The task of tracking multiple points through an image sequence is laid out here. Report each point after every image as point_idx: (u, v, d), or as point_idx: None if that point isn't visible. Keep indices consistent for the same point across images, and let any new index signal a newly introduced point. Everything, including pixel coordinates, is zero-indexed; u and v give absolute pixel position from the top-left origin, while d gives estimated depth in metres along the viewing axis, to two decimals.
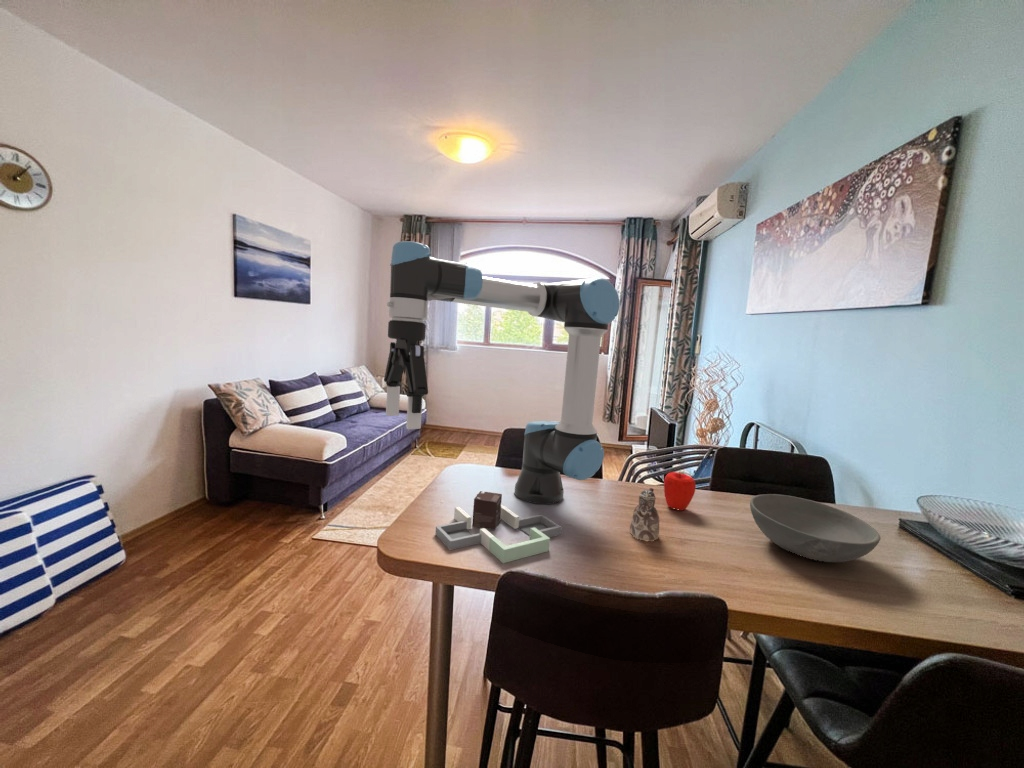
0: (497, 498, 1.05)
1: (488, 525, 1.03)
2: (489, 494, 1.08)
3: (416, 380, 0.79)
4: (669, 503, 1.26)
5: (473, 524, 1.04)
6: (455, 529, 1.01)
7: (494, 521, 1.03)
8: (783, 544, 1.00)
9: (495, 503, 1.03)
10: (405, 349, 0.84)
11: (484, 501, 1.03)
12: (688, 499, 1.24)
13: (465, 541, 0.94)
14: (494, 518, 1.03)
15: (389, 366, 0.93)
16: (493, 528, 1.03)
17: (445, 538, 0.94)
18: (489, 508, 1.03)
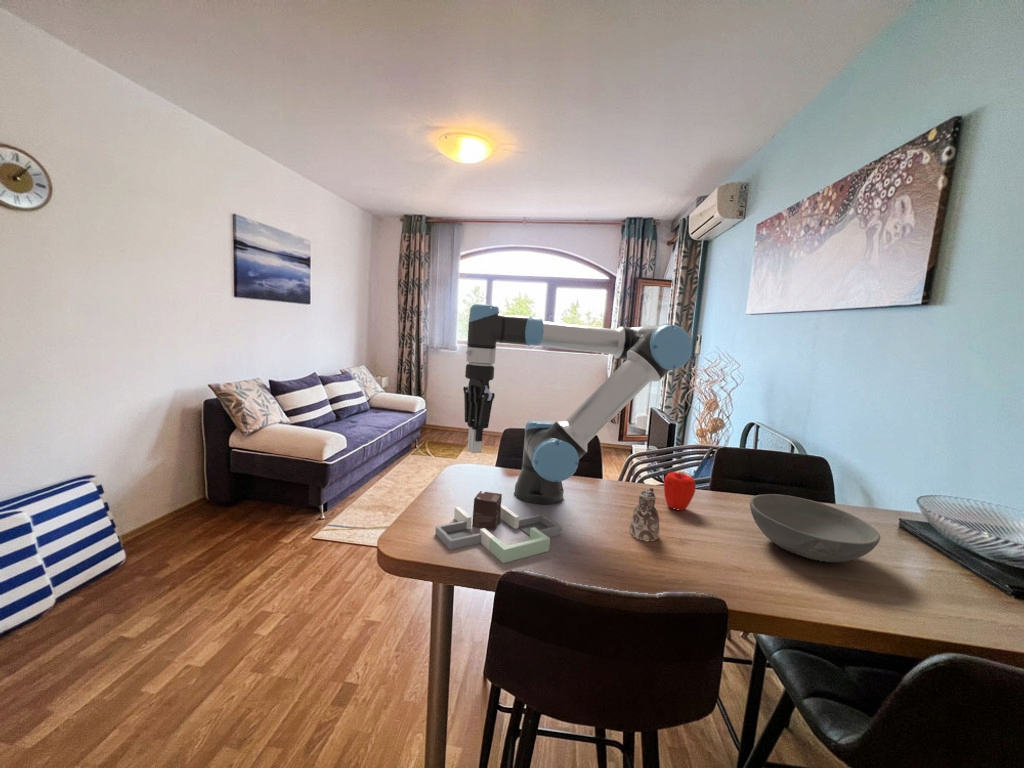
0: (497, 498, 1.05)
1: (488, 525, 1.03)
2: (489, 494, 1.08)
3: (482, 419, 1.07)
4: (669, 503, 1.26)
5: (473, 524, 1.04)
6: (455, 529, 1.01)
7: (494, 521, 1.03)
8: (783, 544, 1.00)
9: (495, 503, 1.03)
10: (480, 387, 1.08)
11: (484, 501, 1.03)
12: (688, 499, 1.24)
13: (465, 541, 0.94)
14: (494, 518, 1.03)
15: (467, 406, 1.14)
16: (493, 528, 1.03)
17: (445, 538, 0.94)
18: (489, 508, 1.03)
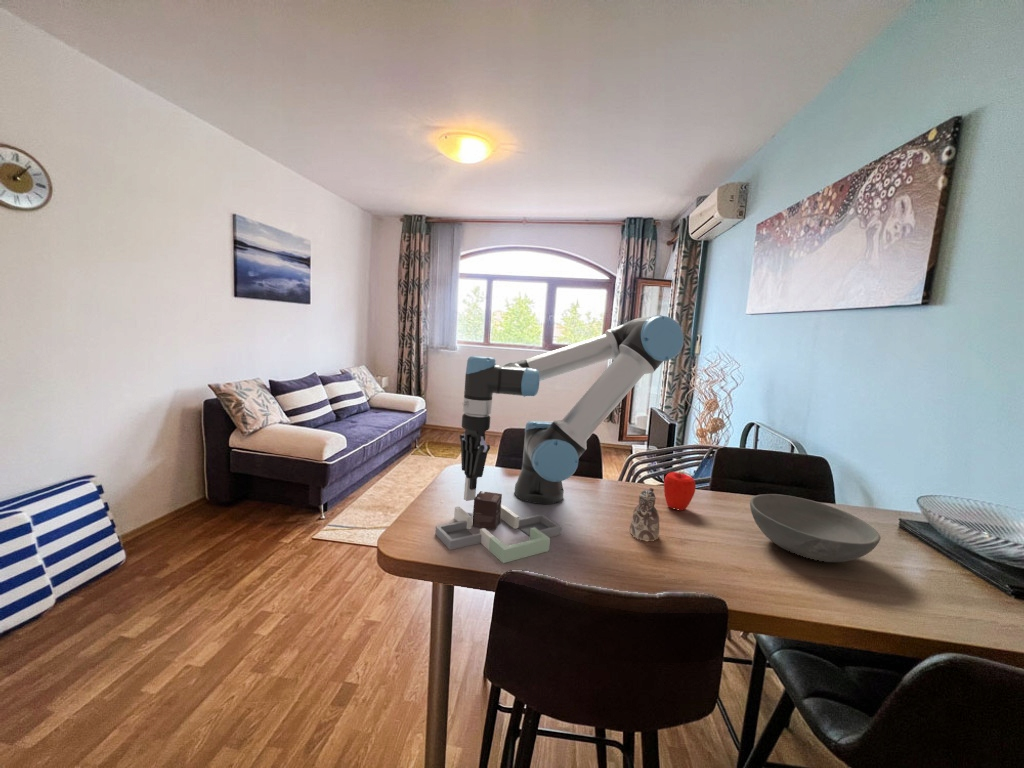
0: (497, 498, 1.05)
1: (488, 525, 1.03)
2: (489, 494, 1.08)
3: (476, 470, 1.09)
4: (669, 503, 1.26)
5: (473, 524, 1.04)
6: (455, 529, 1.01)
7: (494, 521, 1.03)
8: (783, 544, 1.00)
9: (495, 503, 1.03)
10: (476, 438, 1.09)
11: (484, 501, 1.03)
12: (688, 499, 1.24)
13: (465, 541, 0.94)
14: (494, 518, 1.03)
15: (463, 454, 1.15)
16: (493, 528, 1.03)
17: (445, 538, 0.94)
18: (489, 508, 1.03)
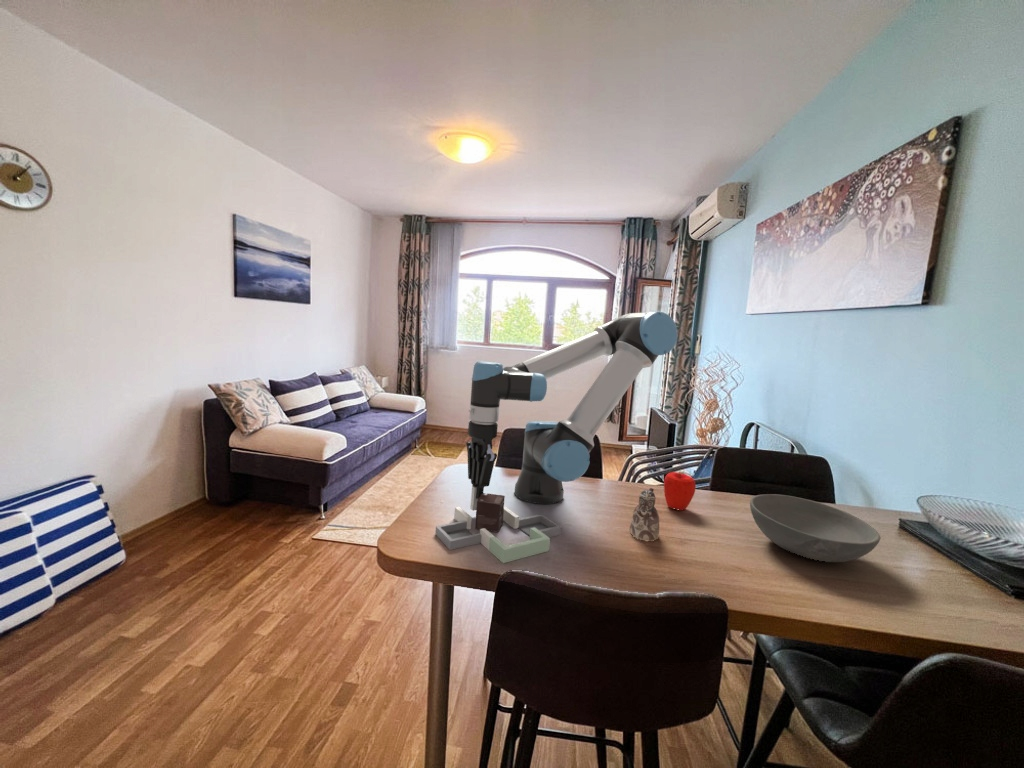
0: (500, 500, 1.04)
1: (492, 527, 1.02)
2: (492, 495, 1.06)
3: (483, 479, 1.06)
4: (669, 503, 1.26)
5: (476, 526, 1.03)
6: (455, 529, 1.01)
7: (497, 523, 1.02)
8: (783, 544, 1.00)
9: (498, 505, 1.01)
10: (483, 446, 1.06)
11: (487, 503, 1.02)
12: (688, 499, 1.24)
13: (465, 541, 0.94)
14: (497, 520, 1.02)
15: (470, 462, 1.12)
16: (496, 530, 1.02)
17: (445, 538, 0.94)
18: (492, 510, 1.02)
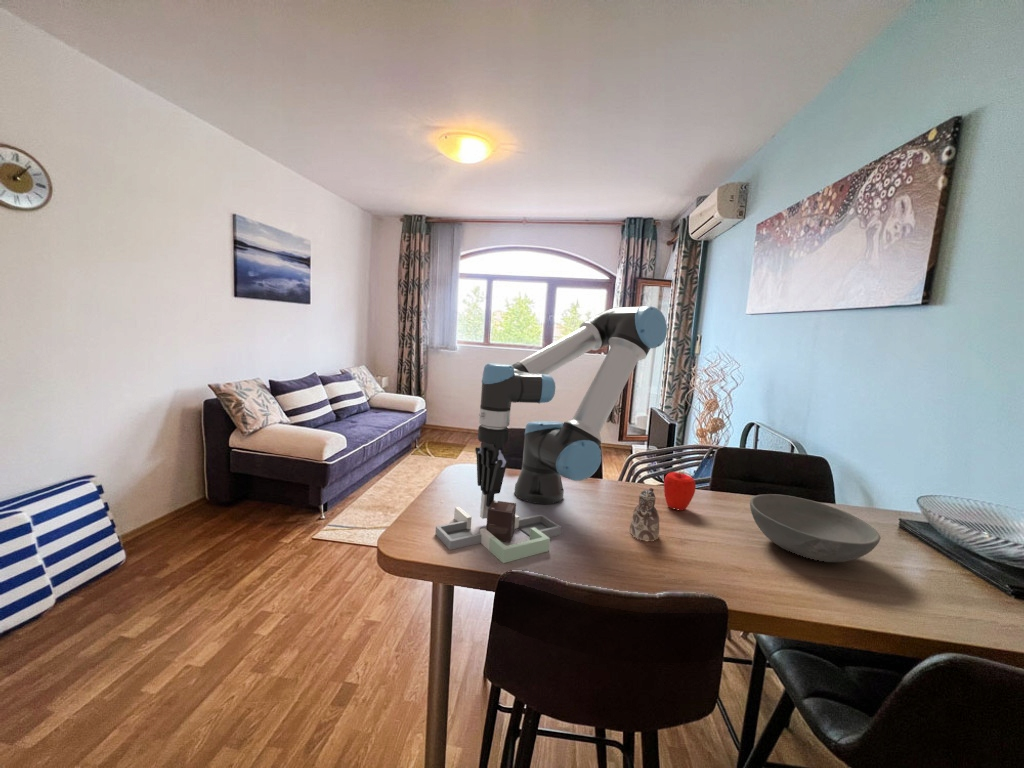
0: (512, 508, 0.99)
1: (503, 537, 0.98)
2: (503, 503, 1.02)
3: (494, 486, 1.01)
4: (669, 503, 1.26)
5: None
6: (455, 529, 1.01)
7: (509, 533, 0.97)
8: (783, 544, 1.00)
9: (510, 514, 0.97)
10: (493, 452, 1.01)
11: (498, 512, 0.97)
12: (688, 499, 1.24)
13: (465, 541, 0.94)
14: (509, 529, 0.97)
15: (479, 468, 1.07)
16: (508, 540, 0.98)
17: (445, 538, 0.94)
18: (503, 519, 0.97)
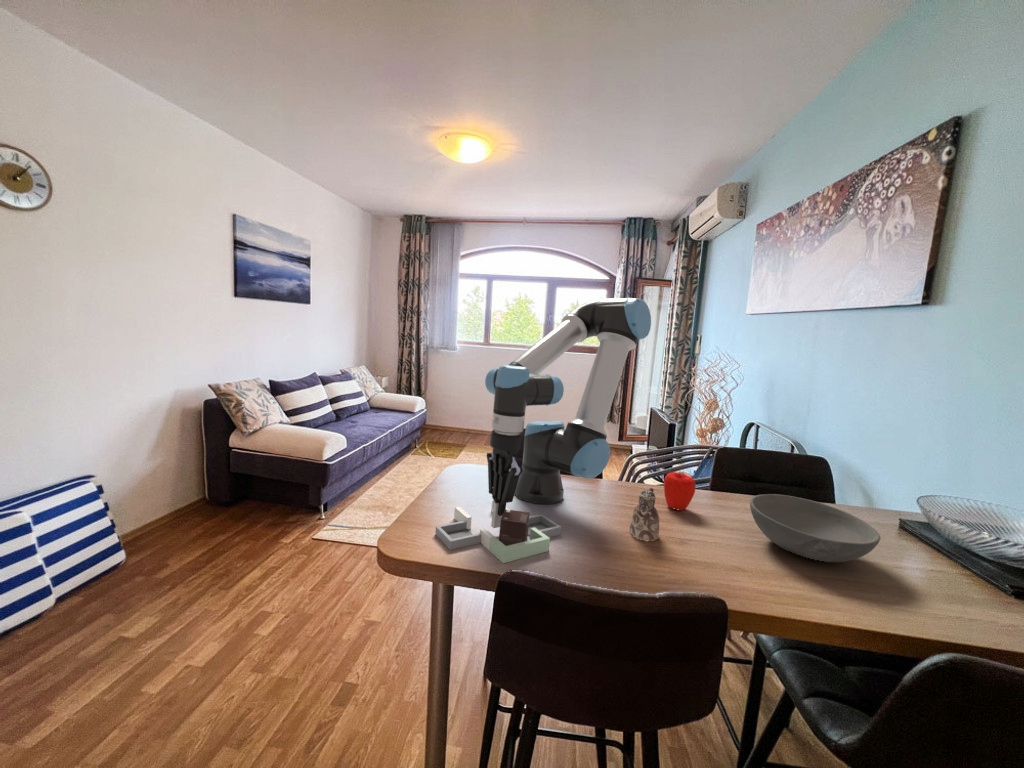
0: (526, 518, 0.94)
1: None
2: (515, 512, 0.97)
3: (506, 495, 0.96)
4: (669, 503, 1.26)
5: None
6: (455, 529, 1.01)
7: None
8: (783, 544, 1.00)
9: (525, 524, 0.92)
10: (507, 459, 0.96)
11: (512, 522, 0.92)
12: (688, 499, 1.24)
13: (465, 541, 0.94)
14: (523, 541, 0.92)
15: (491, 475, 1.02)
16: None
17: (445, 538, 0.94)
18: (517, 529, 0.92)
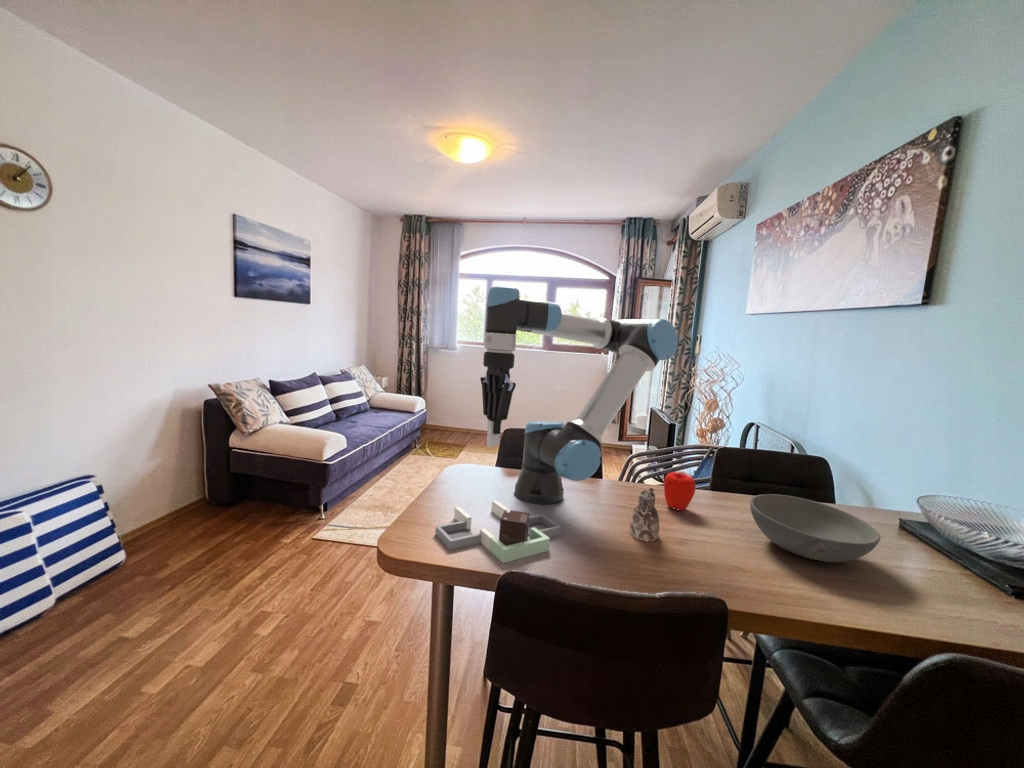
0: (525, 518, 0.94)
1: None
2: (515, 513, 0.97)
3: (501, 411, 1.00)
4: (669, 503, 1.26)
5: None
6: (455, 529, 1.01)
7: None
8: (783, 544, 1.00)
9: (524, 524, 0.92)
10: (500, 376, 1.00)
11: (512, 522, 0.93)
12: (688, 499, 1.24)
13: (465, 541, 0.94)
14: (523, 541, 0.92)
15: (485, 397, 1.06)
16: None
17: (445, 538, 0.94)
18: (517, 530, 0.92)
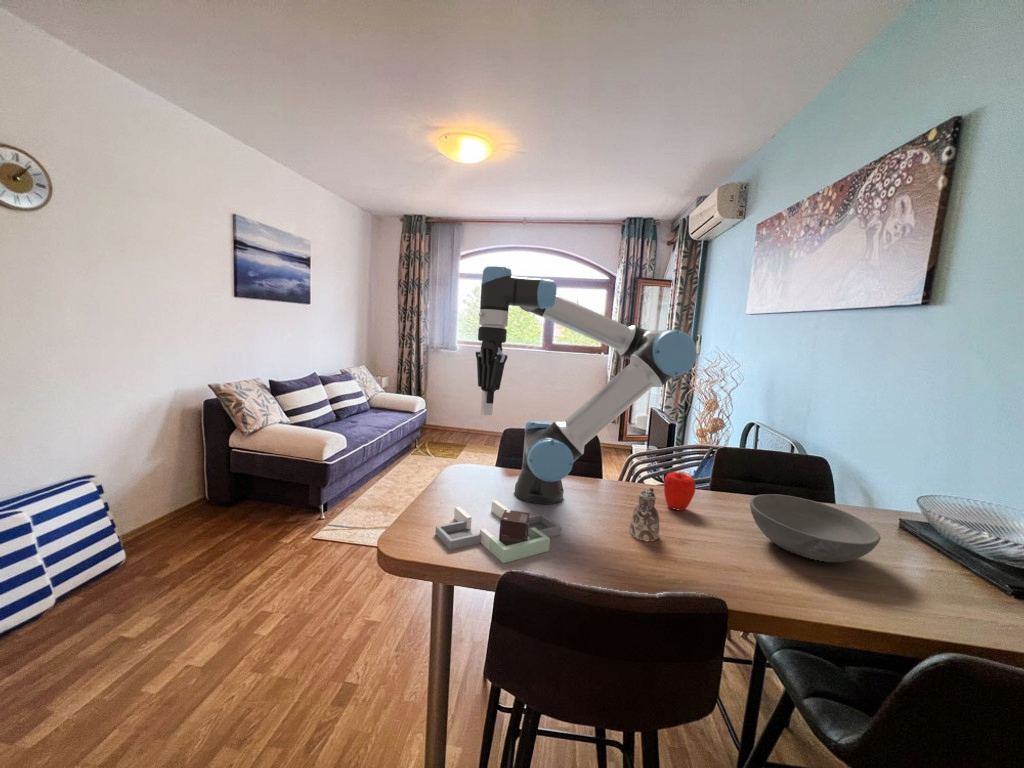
0: (525, 518, 0.94)
1: None
2: (515, 513, 0.97)
3: (494, 381, 1.08)
4: (669, 503, 1.26)
5: None
6: (455, 529, 1.01)
7: None
8: (783, 544, 1.00)
9: (524, 524, 0.92)
10: (493, 349, 1.08)
11: (512, 522, 0.93)
12: (688, 499, 1.24)
13: (465, 541, 0.94)
14: (523, 541, 0.93)
15: (480, 370, 1.14)
16: None
17: (445, 538, 0.94)
18: (517, 530, 0.92)
